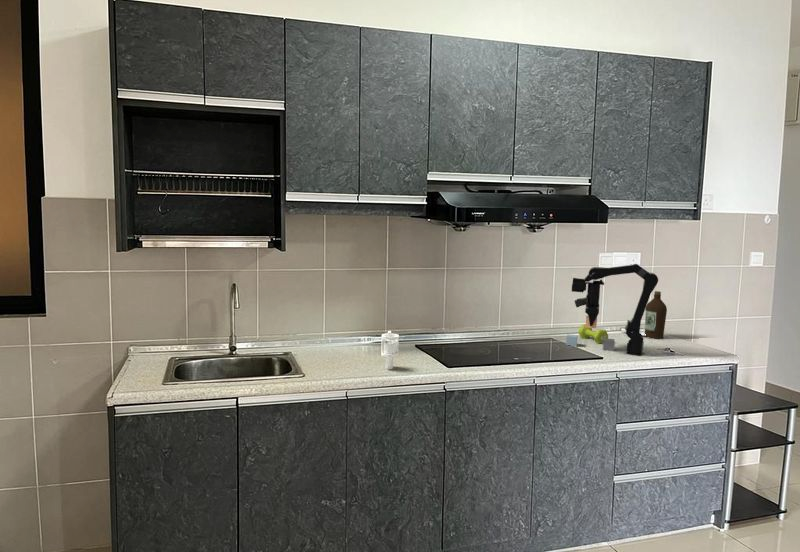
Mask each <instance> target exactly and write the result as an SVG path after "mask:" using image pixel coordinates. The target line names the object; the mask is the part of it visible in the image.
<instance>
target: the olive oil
mask: <svg viewBox="0 0 800 552" xmlns="http://www.w3.org/2000/svg"><path fill="white" fill-rule="evenodd" d="M653 293H654V294H653V298H652V299H651V300H650V301H648V303H647V305H646V308H645V311H644V314H645V319H644V335H645V334H646V336H647V337H649V338H648V339H652V338H654V339H653V340H663V339H664V335H665V326H666V318H667V314H668V309H667V305H666V304H665V303H664V301H663V300H662V299H661V296H662V294H661V293H662V291H660V290H659V291H657V290H655V291H654V292H653ZM647 337H646V338H647Z"/></svg>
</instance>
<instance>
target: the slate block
mask: <svg viewBox="0 0 800 552" xmlns="http://www.w3.org/2000/svg"><path fill="white" fill-rule="evenodd" d="M578 336H579V334H570V333H569V334H568V333H567V334H566V339H565V340H566V341H565V346H566V345H572V346H571V347H573V346H576V347H575V348H577V346H578Z"/></svg>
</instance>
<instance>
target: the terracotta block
mask: <svg viewBox="0 0 800 552" xmlns="http://www.w3.org/2000/svg"><path fill="white" fill-rule="evenodd" d="M585 317H586V318H585V324H586V328H592V329H597V325H598V324H597V323H598V317H597V318H596V320H595V322H594V324H593V326H590V323H589V316H588V315H585Z"/></svg>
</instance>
